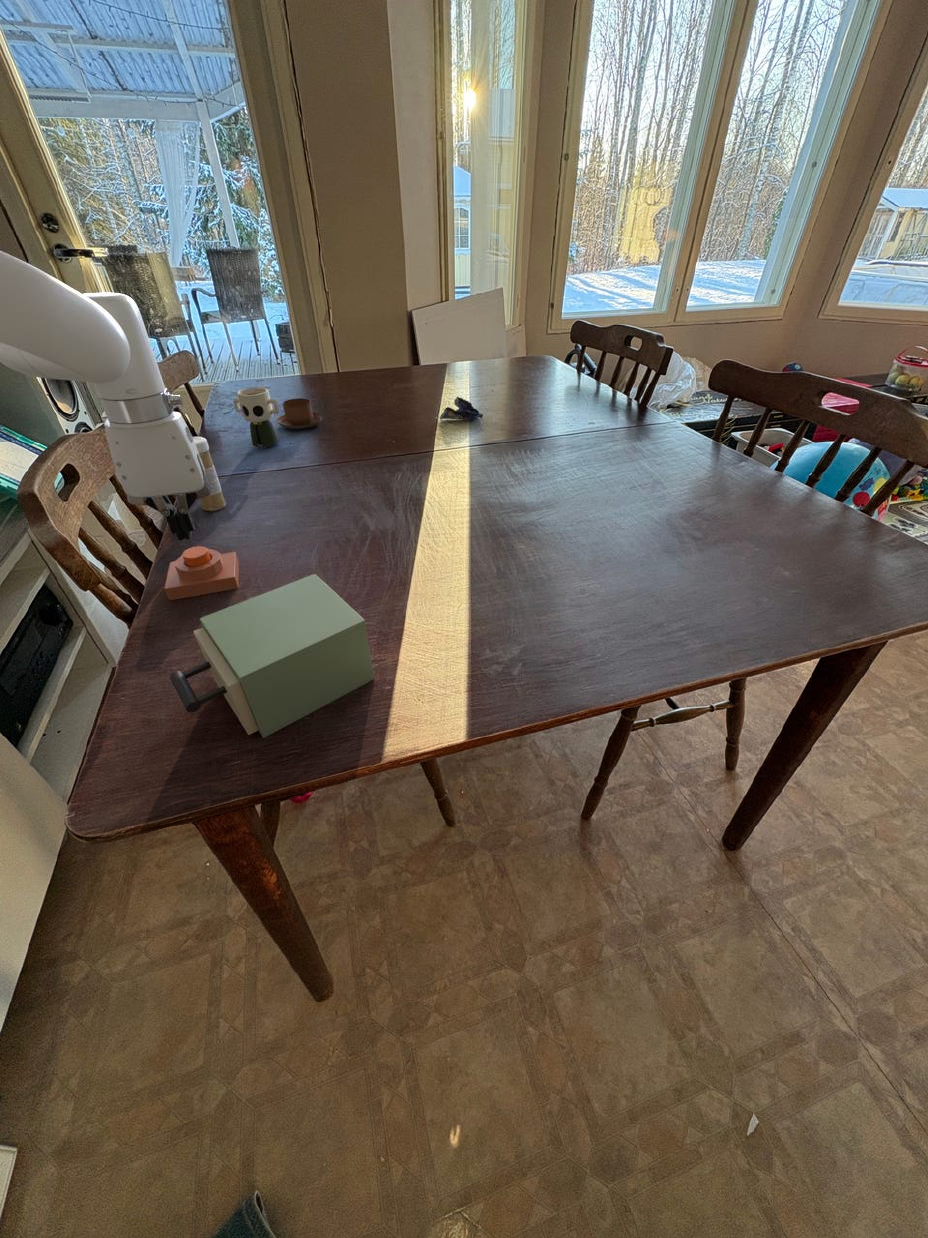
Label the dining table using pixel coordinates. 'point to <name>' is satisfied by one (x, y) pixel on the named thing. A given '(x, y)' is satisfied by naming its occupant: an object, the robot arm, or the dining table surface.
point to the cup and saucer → (298, 414)
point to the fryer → (292, 650)
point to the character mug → (258, 414)
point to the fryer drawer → (222, 677)
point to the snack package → (460, 411)
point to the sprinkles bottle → (209, 478)
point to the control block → (202, 576)
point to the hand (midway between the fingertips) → (185, 535)
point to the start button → (196, 556)
